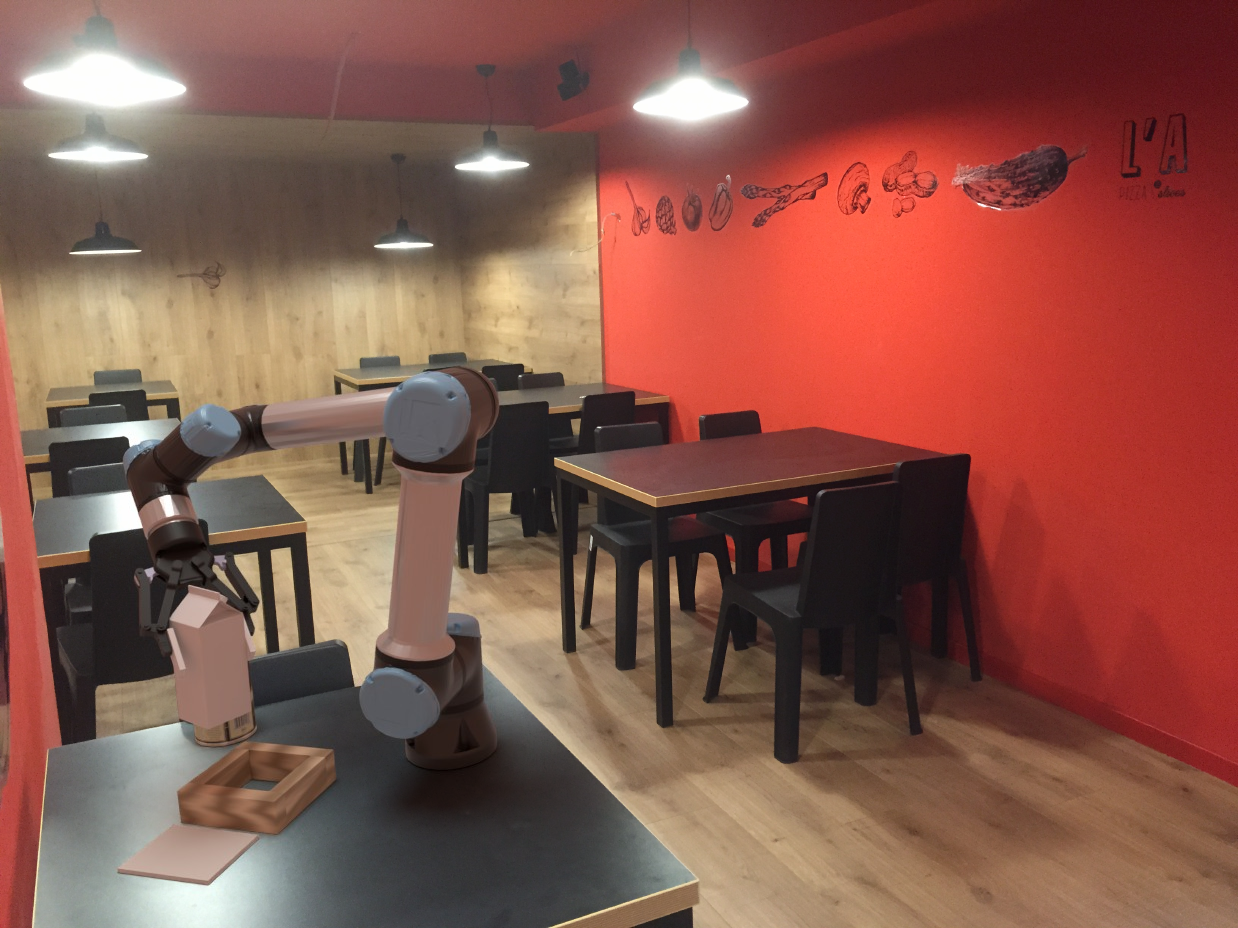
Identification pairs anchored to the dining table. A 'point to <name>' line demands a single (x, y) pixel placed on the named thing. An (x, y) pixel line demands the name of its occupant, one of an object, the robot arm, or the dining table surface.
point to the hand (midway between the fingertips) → (217, 664)
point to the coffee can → (229, 728)
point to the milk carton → (211, 659)
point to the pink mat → (189, 854)
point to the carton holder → (233, 807)
